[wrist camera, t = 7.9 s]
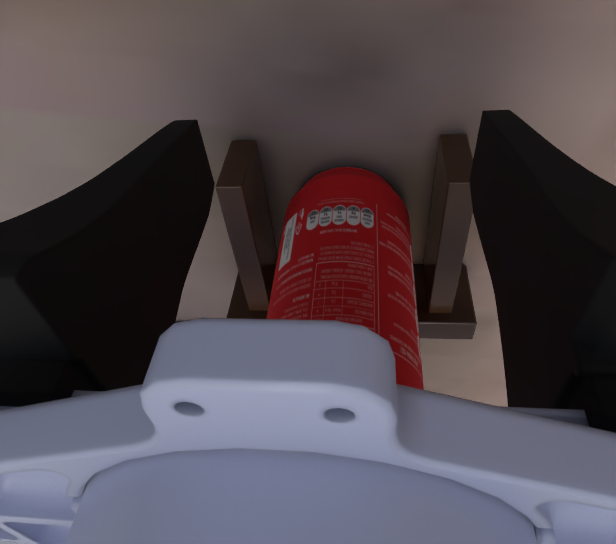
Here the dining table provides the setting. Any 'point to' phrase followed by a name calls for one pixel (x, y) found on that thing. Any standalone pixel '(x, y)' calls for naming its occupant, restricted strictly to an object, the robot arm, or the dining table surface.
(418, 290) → the can holder
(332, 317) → the beverage can
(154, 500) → the robot arm
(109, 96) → the dining table surface
